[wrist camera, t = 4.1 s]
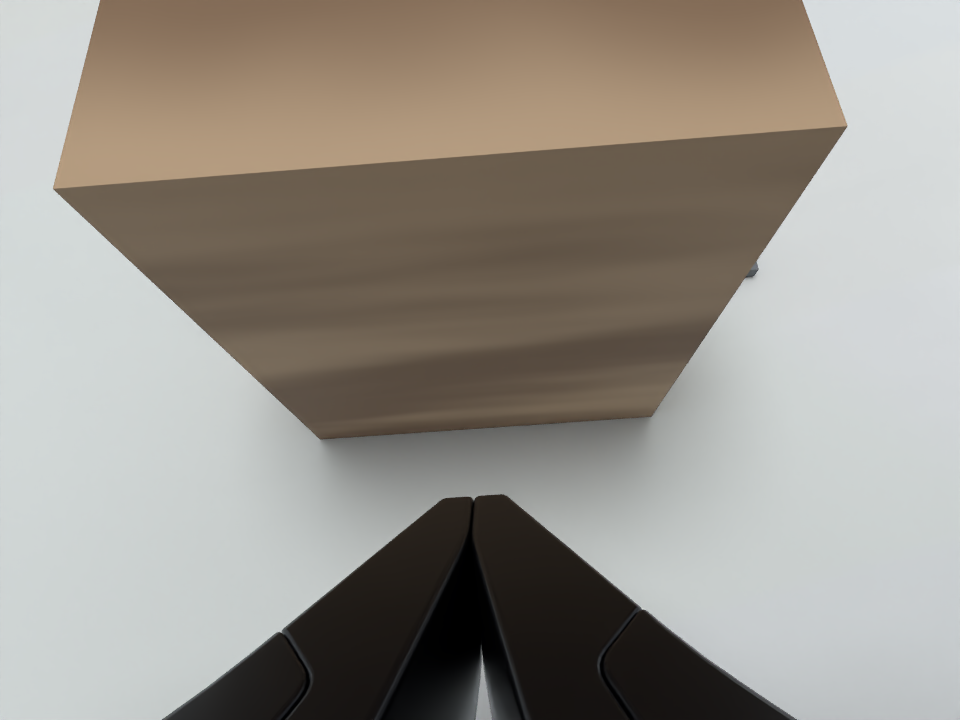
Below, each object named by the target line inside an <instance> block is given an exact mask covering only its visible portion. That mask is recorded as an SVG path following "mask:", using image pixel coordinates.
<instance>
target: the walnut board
mask: <svg viewBox="0 0 960 720" xmlns="http://www.w3.org/2000/svg"><path fill="white" fill-rule="evenodd" d="M846 128H847V123H846V120H845V118H844V115H843V112H842V109H841V107H840V104H839V101H838V98H837V95H836V93H835V90H834V87H833V84H832V82H831V79H830V76H829V73H828V71H827V68H826V65H825V62H824V60H823V57H822V54H821V51H820V49H819V46H818V43H817V40H816V37H815V35H814V32H813V29H812V26H811V24H810V21H809V18H808V15H807V13H806V10H805V7H804V4H803V2H802V0H100V3H99V7H98V11H97V15H96V19H95V23H94V27H93V31H92V35H91V39H90V43H89V47H88V51H87V55H86V59H85V63H84V67H83V71H82V75H81V79H80V83H79V87H78V91H77V95H76V99H75V103H74V107H73V111H72V115H71V119H70V123H69V127H68V131H67V135H66V139H65V143H64V147H63V151H62V155H61V159H60V163H59V167H58V171H57V175H56V179H55V182H54V186H53V189H54V190H55V191H56V192H57V193H58V194H59V195H60V196H61V197H62V198H63V199H64V200H65V201H66V202H68V203H69V204H70V205H71V206H72V207H73V208H74V209H75V210H76V211H77V212H78V213H79V214H80V215H81V216H82V217H84V218H85V219H86V220H87V221H88V222H89V223H90V224H91V225H92V226H93V227H94V228H95V229H96V230H97V231H98V232H100V233H101V234H102V235H103V236H104V237H105V238H106V239H107V240H108V241H109V242H110V243H111V244H112V245H113V246H114V247H116V248H117V249H118V250H119V251H120V252H121V253H122V254H123V255H124V256H125V257H126V258H127V259H128V260H129V261H130V262H132V263H133V264H134V265H135V266H136V267H137V268H138V269H139V270H140V271H141V272H142V273H143V274H144V275H145V276H146V277H148V278H149V279H150V280H151V281H152V282H153V283H154V284H155V285H156V286H157V287H158V288H159V289H160V290H161V291H162V292H164V293H165V294H166V295H167V296H168V297H169V298H170V299H171V300H172V301H173V302H174V303H175V304H176V305H177V306H178V307H180V308H181V309H182V310H183V311H184V312H185V313H186V314H187V315H188V316H189V317H190V318H191V319H192V320H193V321H194V322H196V323H197V324H198V325H199V326H200V327H201V328H202V329H203V330H204V331H205V332H206V333H207V334H208V335H209V336H210V337H212V338H213V339H214V340H215V341H216V342H217V343H218V344H219V345H220V346H221V347H222V348H223V349H224V350H225V351H226V352H228V353H229V354H230V355H231V356H232V357H233V358H234V359H235V360H236V361H237V362H238V363H239V364H240V365H241V366H242V367H244V368H245V369H246V370H247V371H248V372H249V373H250V374H251V375H252V376H253V377H254V378H255V379H256V380H257V381H258V382H260V383H261V384H262V385H263V386H264V387H265V388H266V389H267V390H268V391H269V392H270V393H271V394H272V395H273V396H274V397H276V398H277V399H278V400H279V401H280V402H281V403H282V404H283V405H284V406H285V407H286V408H287V409H288V410H289V411H290V412H292V413H293V414H294V415H295V416H296V417H297V418H298V419H299V420H300V421H301V422H302V423H303V424H304V425H305V426H306V427H308V428H309V429H310V430H311V431H312V432H313V433H314V434H315V435H316V436H317V437H318V438H319V439H334V438H348V437H363V436H377V435H392V434H406V433H421V432H435V431H450V430H465V429H479V428H494V427H508V426H523V425H537V424H552V423H566V422H581V421H596V420H610V419H625V418H639V417H651V416H652V415H653V413H654V412H655V410H656V409H657V407H658V406H659V404H660V403H661V401H662V400H663V399H664V397H665V396H666V394H667V393H668V391H669V390H670V388H671V387H672V385H673V384H674V382H675V381H676V379H677V378H678V376H679V375H680V373H681V372H682V370H683V369H684V367H685V366H686V364H687V363H688V361H689V360H690V359H691V357H692V356H693V354H694V353H695V351H696V350H697V348H698V347H699V345H700V344H701V342H702V341H703V339H704V338H705V336H706V335H707V333H708V332H709V330H710V329H711V327H712V326H713V324H714V323H715V322H716V320H717V319H718V317H719V316H720V314H721V313H722V311H723V310H724V308H725V307H726V305H727V304H728V302H729V301H730V299H731V298H732V296H733V295H734V293H735V292H736V290H737V289H738V287H739V286H740V285H741V283H742V282H743V280H744V279H745V277H746V276H747V274H748V273H749V271H750V270H751V268H752V267H753V265H754V264H755V262H756V261H757V259H758V258H759V256H760V255H761V253H762V252H763V250H764V249H765V248H766V246H767V245H768V243H769V242H770V240H771V239H772V237H773V236H774V234H775V233H776V231H777V230H778V228H779V227H780V225H781V224H782V222H783V221H784V219H785V218H786V216H787V215H788V213H789V212H790V211H791V209H792V208H793V206H794V205H795V203H796V202H797V200H798V199H799V197H800V196H801V194H802V193H803V191H804V190H805V188H806V187H807V185H808V184H809V182H810V181H811V179H812V178H813V176H814V175H815V174H816V172H817V171H818V169H819V168H820V166H821V165H822V163H823V162H824V160H825V159H826V157H827V156H828V154H829V153H830V151H831V150H832V148H833V147H834V145H835V144H836V142H837V141H838V139H839V138H840V137H841V135H842V134H843V132H844V131H845V129H846Z"/></svg>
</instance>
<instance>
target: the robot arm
mask: <svg viewBox="0 0 960 720" xmlns="http://www.w3.org/2000/svg"><path fill="white" fill-rule="evenodd" d="M482 655H483V664H484V672H485V679H486V685H487V691H488V697H489V703H490V709H491V715H492V720H797V719H795V718H794V717H792V716H791V715H789V714H788V713H786V712H785V711H783V710H782V709H780V708H779V707H777V706H776V705H774V704H773V703H771V702H770V701H768V700H767V699H765V698H764V697H762V696H761V695H759V694H758V693H756V692H755V691H753V690H752V689H750V688H749V687H747V686H746V685H745V684H743V683H742V682H740V681H739V680H737V679H736V678H734V677H733V676H732V675H730V674H729V673H727V672H726V671H724V670H723V669H721V668H720V667H719V666H717V665H716V664H714V663H713V662H711V661H710V660H708V659H707V658H706V657H704V656H703V655H702V654H701V653H699V652H698V651H697V650H695V649H694V648H693V647H691V646H690V645H689V644H688V643H686V642H685V641H684V640H682V639H681V638H680V637H679V636H677V635H676V634H675V633H673V632H672V631H671V630H670V629H668V628H667V627H666V626H665V625H663V624H662V623H661V622H660V621H659V620H657V619H656V618H655V617H654V616H652V615H651V614H650V613H649V612H648V611H646V610H642V609H641V607H640V606H639V605H637V604H636V603H635V602H634V601H633V600H631V599H630V598H629V597H628V596H627V595H625V594H624V593H623V592H622V591H620V590H619V589H618V588H617V587H616V586H614V585H613V584H612V583H611V582H610V581H608V580H607V579H606V578H605V577H604V576H602V575H601V574H600V573H599V572H598V571H596V570H595V569H594V568H593V567H592V566H590V565H589V564H588V563H587V562H586V561H584V560H583V559H582V558H581V557H580V556H578V555H577V554H576V553H575V552H574V551H572V550H571V549H570V548H569V547H567V546H566V545H565V544H564V543H563V542H561V541H560V540H559V539H558V538H557V537H555V536H554V535H553V534H552V533H551V532H549V531H548V530H547V529H546V528H545V527H543V526H542V525H541V524H540V523H539V522H537V521H536V520H535V519H534V518H533V517H531V516H530V515H529V514H528V513H527V512H525V511H524V510H523V509H522V508H521V507H519V506H518V505H517V504H516V503H515V502H513V501H512V500H511V499H510V498H508V497H507V496H505V495H502V494H500V495H485V496H478V497H476V498H475V500H473V499H472V498H471V497H455V498H445V499H442V500H441V501H439V502H438V503H437V504H436V505H434V506H433V507H432V508H431V509H430V510H428V511H427V512H426V513H425V514H423V515H422V516H421V517H420V518H419V519H417V520H416V521H415V522H414V523H412V524H411V525H410V526H409V527H408V528H406V529H405V530H404V531H403V532H401V533H400V534H399V535H398V536H396V537H395V538H394V539H393V540H392V541H390V542H389V543H388V544H387V545H385V546H384V547H383V548H382V549H381V550H379V551H378V552H377V553H376V554H374V555H373V556H372V557H371V558H369V559H368V560H367V561H366V562H365V563H363V564H362V565H361V566H360V567H358V568H357V569H356V570H355V571H354V572H352V573H351V574H350V575H349V576H347V577H346V578H345V579H344V580H342V581H341V582H340V583H339V584H338V585H336V586H335V587H334V588H333V589H331V590H330V591H329V592H328V593H327V594H325V595H324V596H323V597H322V598H320V599H319V600H318V601H317V602H315V603H314V604H313V605H312V606H311V607H309V608H308V609H307V610H306V611H304V612H303V613H302V614H301V615H300V616H298V617H297V618H296V619H295V620H293V621H292V622H291V623H290V624H288V625H287V626H286V627H285V628H284V629H283V630H282V633H280V632H278V633H275V634H274V635H273V636H272V637H271V638H269V639H268V640H267V641H266V642H264V643H263V644H262V645H261V646H259V647H258V648H257V649H256V650H254V651H253V652H252V653H251V654H250V655H248V656H247V657H246V658H244V659H243V660H242V661H240V662H239V663H238V664H237V665H235V666H234V667H233V668H231V669H230V670H229V671H228V672H226V673H225V674H224V675H222V676H221V677H220V678H219V679H217V680H216V681H215V682H213V683H212V684H211V685H209V686H208V687H207V688H206V689H204V690H203V691H201V692H200V693H199V694H197V695H196V696H194V697H193V698H192V699H190V700H189V701H187V702H186V703H185V704H183V705H182V706H180V707H179V708H178V709H176V710H175V711H173V712H172V713H171V714H169V715H168V716H166V717H165V718H164V719H162V720H475V719H476V710H477V702H478V693H479V685H480V674H481V662H482Z"/></svg>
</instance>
